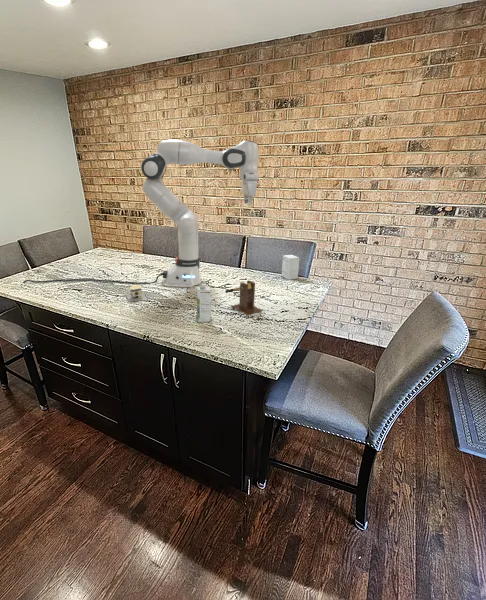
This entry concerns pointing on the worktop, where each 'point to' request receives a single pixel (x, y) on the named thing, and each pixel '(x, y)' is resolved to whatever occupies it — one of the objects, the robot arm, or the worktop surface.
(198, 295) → the syrup box
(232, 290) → the lever
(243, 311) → the bracket
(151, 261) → the worktop surface
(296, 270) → the small box
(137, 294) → the stacked layers on plate
